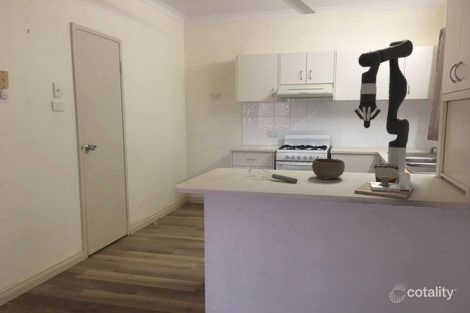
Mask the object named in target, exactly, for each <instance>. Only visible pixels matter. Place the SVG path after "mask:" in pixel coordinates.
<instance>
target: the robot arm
mask: <svg viewBox="0 0 470 313" xmlns="http://www.w3.org/2000/svg"><path fill="white" fill-rule="evenodd" d="M413 49H414V45H413V42H412V41H411V40H410V39H402V40H401V39H400V40H394V41H392V42H390V44H389V46H386V47H381V48H378V49H376V50H372V51H371V50H370V51H368V52H367V51H366V52H362V53H361V54H360V55H359V57H358V62H357V63H358V64H359V66H360V67H362V68H369V69H368V70H367V71H364V72H362V73H361V84H360V91H359V96H360V97H359V105H358V107H357V108H356V109H353V110H354V111H353V112H354V113H355V114H356V115H357V116H358V118H359V120H362V121H363V127H364V129H369V128H370V127H371V121H372V120H375V118H376V117H377V116H378V115H379V114H380V113H381V112H382V109H379V108H378V105H377V75H378V73H379V72H378V71H379V69H380V66H381V64H383V63H386V62H388V64H389V78H388V79H389V80H388V106H387V117H386V121H385V122H386V123H385V125H386V126H385V128H386V130H385V131H386V132H387V134H389V135H396V138H394V139H393V140H390V141H389V142H388V148H387V149H388V150H387V151H388V152H387V164H394V165H398V167H399V169H398V172H397V178H396V179H399V173H401V172H404V173H406V160H407V159H406V157H407V144H408V142H409V134H410V133H409V132H410V123H409V120H408V119H407V118H401V117H399V118H398V111H399V108H400V106H401V105H402V103H403V102H404V101H405V98H406V96H407V93H408V80H407V78H406V76H405V75H404V74H403V72H402V70H401V69H400V65H399V59H400V58H401V59H402V58H403V59H405V58H408V57H410V56H411V54H412V53H413V52H414V50H413ZM373 113H374V114H373Z"/></svg>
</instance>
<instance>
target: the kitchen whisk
mask: <svg viewBox="0 0 470 313" xmlns="http://www.w3.org/2000/svg"><path fill="white" fill-rule="evenodd" d="M253 169H257V170H259V172H257V171H255V170H254V171H253ZM253 169H251V168H249V169H248V172H253V173H254V174H253V175H252V173H249V176H251V177H252V178H253V177H257V175H255V174H256V173H257V174H258V175H260V174H261V175H262V176H263V178H267V179H270V178H271V179H273V180H279V181H283V182H287V183H293V184H297V183H298V181H299V179H298V178H295V177H291V176H286V175H283V174H282V175H281V174H277V173H272V172H270V170H269V171H268V170H267V169H264V168H263V167H260V166H259V167H257V166H253ZM260 171H264V172H266V173H267V175H266V173H264V172H263V173H262V172H260ZM268 173H269V174H268Z"/></svg>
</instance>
